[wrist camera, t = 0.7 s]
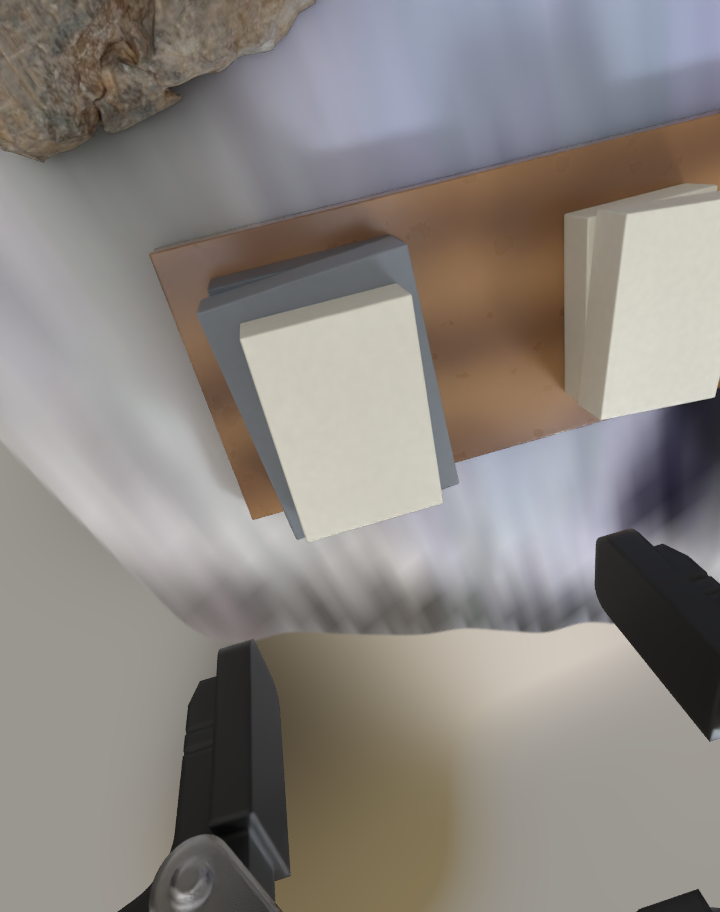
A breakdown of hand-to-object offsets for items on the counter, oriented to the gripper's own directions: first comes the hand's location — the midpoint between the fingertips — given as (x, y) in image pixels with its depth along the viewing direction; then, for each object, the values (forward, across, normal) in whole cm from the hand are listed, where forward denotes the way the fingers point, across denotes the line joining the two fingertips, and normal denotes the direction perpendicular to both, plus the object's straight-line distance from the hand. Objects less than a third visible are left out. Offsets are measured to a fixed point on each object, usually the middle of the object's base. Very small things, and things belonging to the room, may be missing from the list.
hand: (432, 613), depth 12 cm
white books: (+16, -15, 0) cm, 22 cm away
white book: (+11, 0, 0) cm, 11 cm away
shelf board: (+17, -8, 0) cm, 19 cm away
